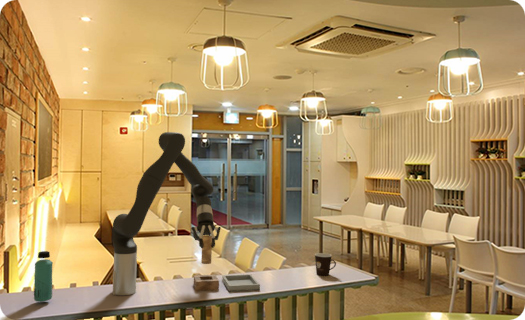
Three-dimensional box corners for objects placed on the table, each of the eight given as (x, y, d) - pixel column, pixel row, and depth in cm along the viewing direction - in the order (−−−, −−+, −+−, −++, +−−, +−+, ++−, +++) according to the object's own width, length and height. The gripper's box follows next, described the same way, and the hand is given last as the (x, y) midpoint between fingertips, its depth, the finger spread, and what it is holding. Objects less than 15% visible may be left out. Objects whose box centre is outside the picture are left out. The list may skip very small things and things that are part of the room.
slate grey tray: (229, 291, 188) (229, 285, 188) (222, 280, 204) (222, 275, 204) (259, 290, 191) (260, 284, 191) (250, 279, 208) (250, 274, 208)
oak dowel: (202, 264, 191) (203, 237, 191) (200, 261, 195) (201, 235, 195) (211, 263, 192) (212, 237, 192) (210, 261, 196) (211, 235, 196)
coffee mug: (311, 272, 224) (312, 253, 224) (326, 271, 226) (327, 252, 226) (321, 278, 213) (321, 258, 213) (336, 277, 215) (337, 257, 215)
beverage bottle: (55, 300, 170) (56, 250, 170) (47, 306, 163) (48, 253, 163) (38, 299, 170) (39, 249, 170) (29, 305, 163) (31, 253, 163)
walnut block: (196, 290, 187) (196, 281, 187) (193, 284, 197) (193, 275, 197) (218, 289, 190) (218, 280, 190) (215, 283, 200) (215, 274, 200)
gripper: (190, 211, 199) (192, 242, 187) (220, 211, 203) (224, 242, 191) (189, 221, 204) (190, 252, 192) (218, 221, 208) (222, 251, 196)
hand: (207, 246), depth 192 cm, fingers closed on oak dowel, 4 cm apart
